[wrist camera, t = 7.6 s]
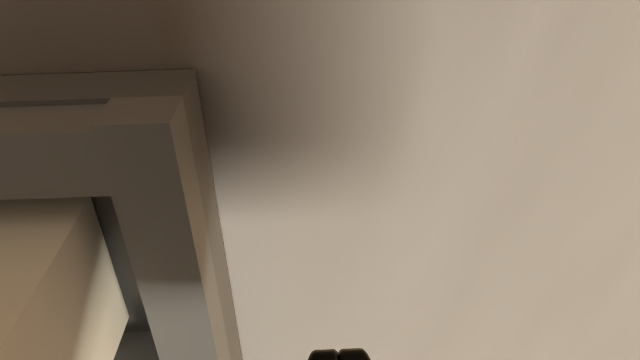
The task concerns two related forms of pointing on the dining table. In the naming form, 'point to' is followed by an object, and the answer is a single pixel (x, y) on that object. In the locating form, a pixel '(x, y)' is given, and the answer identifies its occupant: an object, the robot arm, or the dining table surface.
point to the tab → (57, 283)
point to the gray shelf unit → (131, 195)
